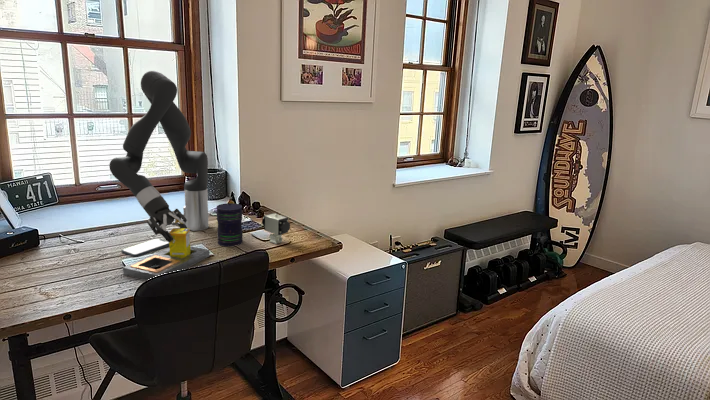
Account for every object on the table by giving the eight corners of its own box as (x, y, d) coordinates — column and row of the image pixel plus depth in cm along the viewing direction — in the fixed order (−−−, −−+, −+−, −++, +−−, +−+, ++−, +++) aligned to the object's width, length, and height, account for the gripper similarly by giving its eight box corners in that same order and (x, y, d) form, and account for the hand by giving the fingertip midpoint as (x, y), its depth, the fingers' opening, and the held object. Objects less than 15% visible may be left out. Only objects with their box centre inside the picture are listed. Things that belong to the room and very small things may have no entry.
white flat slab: (135, 259, 173) (172, 246, 187) (134, 255, 173) (171, 242, 186) (120, 253, 178) (157, 241, 191) (119, 249, 177) (157, 237, 191)
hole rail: (123, 274, 159) (122, 266, 158) (177, 249, 182) (177, 242, 182) (158, 282, 154) (157, 274, 153) (209, 256, 177) (209, 249, 177)
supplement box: (174, 256, 176) (172, 227, 173) (191, 256, 177) (190, 228, 174) (169, 262, 170) (168, 233, 168) (187, 262, 171) (185, 233, 168)
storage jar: (241, 246, 189) (241, 209, 185) (216, 246, 187) (214, 210, 183) (243, 238, 198) (242, 203, 195) (218, 238, 197) (217, 203, 193)
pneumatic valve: (281, 247, 190) (282, 218, 187) (261, 240, 197) (261, 212, 194) (291, 243, 194) (292, 215, 191) (271, 237, 201) (271, 209, 198)
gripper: (142, 200, 164) (171, 237, 163) (172, 191, 177) (198, 226, 176) (131, 212, 167) (159, 249, 166) (161, 203, 180) (187, 237, 179)
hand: (179, 237), depth 171 cm, fingers open, 8 cm apart
